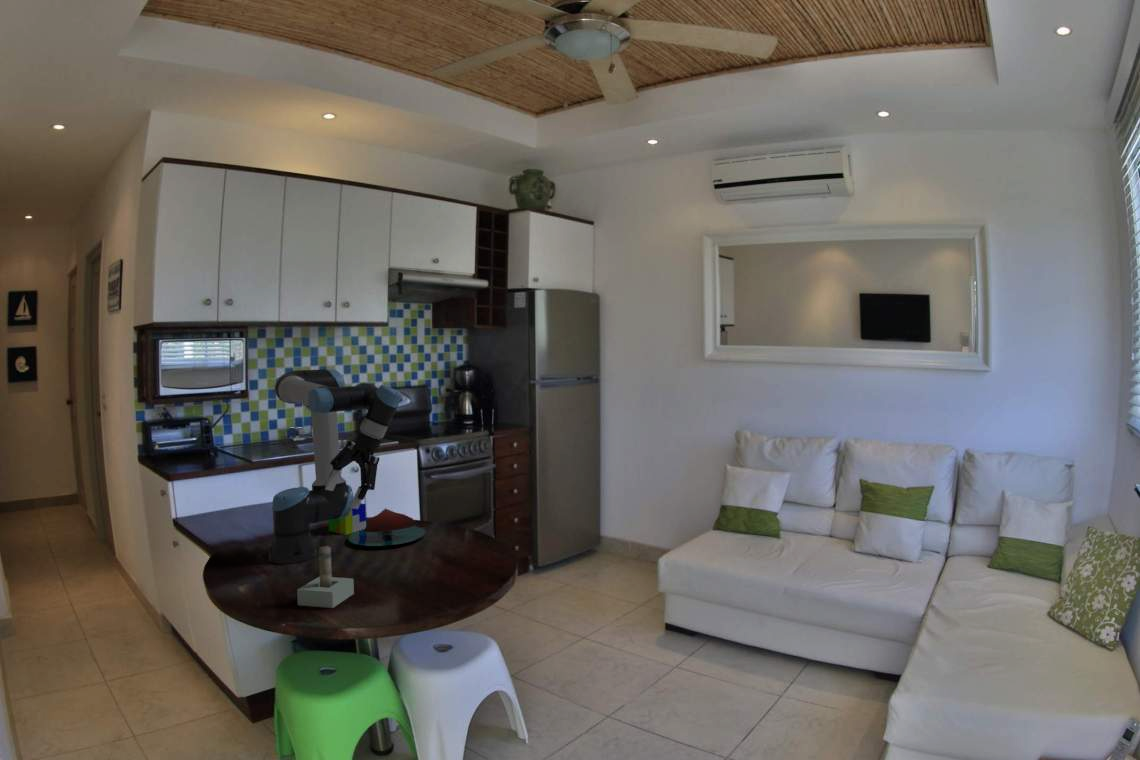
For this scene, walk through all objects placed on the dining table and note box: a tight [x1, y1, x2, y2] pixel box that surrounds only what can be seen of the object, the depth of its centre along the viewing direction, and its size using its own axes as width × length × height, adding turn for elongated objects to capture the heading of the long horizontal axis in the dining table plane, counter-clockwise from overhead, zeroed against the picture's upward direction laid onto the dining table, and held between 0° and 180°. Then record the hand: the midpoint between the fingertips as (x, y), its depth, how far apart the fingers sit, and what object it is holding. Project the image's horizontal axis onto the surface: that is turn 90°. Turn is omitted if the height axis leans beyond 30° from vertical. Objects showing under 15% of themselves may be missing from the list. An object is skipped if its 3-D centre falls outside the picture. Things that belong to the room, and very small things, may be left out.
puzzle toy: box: [328, 502, 367, 536], centre depth 268 cm, size 10×10×10 cm
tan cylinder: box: [318, 545, 333, 588], centre depth 194 cm, size 3×3×15 cm
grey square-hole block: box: [296, 576, 355, 609], centre depth 194 cm, size 11×11×4 cm
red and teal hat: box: [348, 508, 426, 547], centre depth 254 cm, size 28×28×11 cm
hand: (340, 499), depth 205 cm, fingers open, 13 cm apart
